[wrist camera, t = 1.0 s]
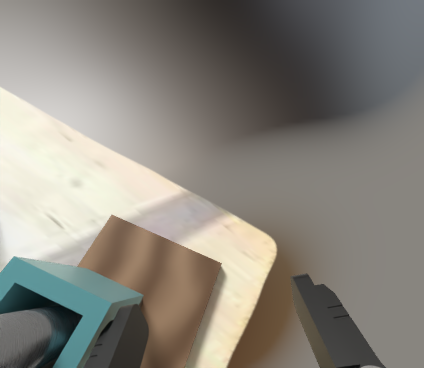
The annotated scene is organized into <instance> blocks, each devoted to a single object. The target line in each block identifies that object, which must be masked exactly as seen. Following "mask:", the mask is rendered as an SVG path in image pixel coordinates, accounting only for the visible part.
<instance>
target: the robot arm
mask: <svg viewBox="0 0 424 368" xmlns="http://www.w3.org/2000/svg"><path fill="white" fill-rule="evenodd" d="M291 285H292V293H293V300H294V305H295V308H296V311H297V314H298V316H299V319H300V321H301V324H302V326H303V328H304V331H305V333H306V336H307V338H308V340H309V342H310V345H311V347H312V350H313V352H314V355H315V357H316V359H317V362H318V364H319V367H320V368H386V367H385V366H384V365H383V364H382V363H381V362H380V360H379V359H378V358H377V356H376V355H375V353H374V352H373V350H372V349H371V347H370V346H369V344H368V343H367V341H366V340H365V338H364V337H363V335H362V334H361V332H360V331H359V329H358V328H357V326H356V325H355V323H354V322H353V320H352V319H351V318H350V316H349V314H348V313H347V311H346V310H345V308H344V307H343V306H342V303H341V302H340V300H339V299H338V298H337V296H336V295H335V293H334V292H333V291H331V290H330V289H329V288H327V287H326V286H325V285H324V284H321V285H314V284H313V282H312V280H311V278H310V277H309V275H308V274H302V275H297V276H291ZM148 336H149V327H148V323H147V321H146V319H145V317H144V315H143V313H142V311H141V309H140V307H139V305H138V304H132V305H126V306H121V307H120V308H119V310H118V312H117V314H116V316H115V318H114V320H111V321H110V322H109V323H108V324H107V325H106V326H105V328H104V329H103V330H102V331H101V333H100V335H99V337H98V339H97V341H96V343H95V347H94V348H93V349H92V351H91V353H90V355H89V359H87V361H86V363H85V365H84V367H83V368H140V366H141V363H142V359H143V356H144V352H145V348H146V345H147V341H148Z"/></svg>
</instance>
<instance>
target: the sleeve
mask: <svg viewBox="0 0 424 368" xmlns="http://www.w3.org/2000/svg"><path fill="white" fill-rule="evenodd" d="M143 296H144V295H142V294H140V293H138V292H136V291H134V290H132V289H130V288H128V287H125V286H123V285H121V284H119V283H117V282H115V281H113V280H110V279H108V278H106V277H104V276H102V275H100V274H98V273H96V272H93V271H91V270H89V269H87V268H82V267H76V266H70V265H63V264H57V263H51V262H45V261H39V260H33V259H27V258H21V257H15V256H14V257H13V258H12V259H11V261H10V262H9V263H8V264H7V265H6V267H5V268H4V269H3V270H2V272H1V273H0V314H5V313H11V312H18V311H24V310H30V309H36V308H43V307H49V306H55V305H63V306H65V307H67V308H69V309H71V310H73V311H75V312H77V313H79V314H81V315H83V317H82V319H81V320H80V322H79V324H78V325H77V327H76V329H75V330H74V332H73V334H72V336H71V337H70V339H69V341H68V342H67V344H66V346H65V347H64V349H63V351H62V352H61V354H60V356H59V357H58V358H56V359H54V360H53V361H51V362H49V363H47V364H46V365H44V366H42V367H40V368H83V367H84V365H85V363H86V361H87V359H89V355H90V353H91V351H92V349H93V348H94V347H95V343H96V341H97V339H98V337H99V335H100V333H101V331H102V330H103V329H104V328H105V326H106V325H107V324H108V323H109V322H110V321H111V320H114V318H115V316H116V314H117V312H118V310H119V308H120V307H121V306H126V305H132V304H138V305H139V304H140V302H141V300H142V298H143Z"/></svg>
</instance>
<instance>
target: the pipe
mask: <svg viewBox="0 0 424 368" xmlns="http://www.w3.org/2000/svg"><path fill="white" fill-rule="evenodd" d="M141 306H142V300H141V302H140V304H139V307H140V308H141ZM82 317H83V315H81V314H79V313H77V312H75V311H73V310H71V309H69V308H67V307H65V306H63V305H55V306H49V307H43V308H36V309H30V310H24V311H18V312H11V313H5V314H0V368H40V367H42V366H44V365H46V364H47V363H49V362H51V361H53V360H54V359H56V358H58V357H59V356H60V354H61V352H62V351H63V349H64V347H65V346H66V344H67V342H68V341H69V339H70V337H71V336H72V334H73V332H74V330H75V329H76V327H77V325H78V324H79V322H80V320H81V319H82Z"/></svg>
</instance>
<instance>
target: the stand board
mask: <svg viewBox="0 0 424 368" xmlns="http://www.w3.org/2000/svg"><path fill="white" fill-rule="evenodd" d="M221 264H222V263H220V262H217V261H215V260H213V259H211V258H208V257H206V256H204V255H202V254H199V253H197V252H195V251H193V250H190V249H188V248H186V247H184V246H181V245H179V244H177V243H175V242H172V241H170V240H168V239H166V238H163V237H161V236H159V235H157V234H154V233H152V232H150V231H148V230H145V229H143V228H141V227H138V226H136V225H134V224H132V223H129V222H127V221H125V220H123V219H120V218H118V217H116V216H114V215H111V217H110V218H109V220H108V221H107V223H106V224H105V226H104V227H103V229H102V230H101V232H100V233H99V235H98V236H97V238H96V239H95V241H94V242H93V244H92V245H91V247H90V248H89V250H88V251H87V253H86V254H85V256H84V257H83V259H82V260H81V262H80V263H79V265H78V266H77V267H82V268H87V269H89V270H91V271H93V272H96V273H98V274H100V275H102V276H104V277H106V278H108V279H110V280H113V281H115V282H117V283H119V284H121V285H123V286H125V287H128V288H130V289H132V290H134V291H136V292H138V293H140V294H142V295H144V296H143V298H142V306H141V308H140V309H141V311H142V313H143V315H144V317H145V319H146V321H147V323H148V327H149V336H148V341H147V345H146V348H145V352H144V356H143V359H142V363H141V366H140V368H184V367H185V365H186V362H187V359H188V356H189V353H190V351H191V348H192V345H193V342H194V339H195V337H196V334H197V331H198V328H199V325H200V323H201V320H202V317H203V314H204V311H205V309H206V306H207V303H208V300H209V297H210V295H211V292H212V289H213V286H214V283H215V281H216V278H217V275H218V272H219V269H220V267H221Z"/></svg>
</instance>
